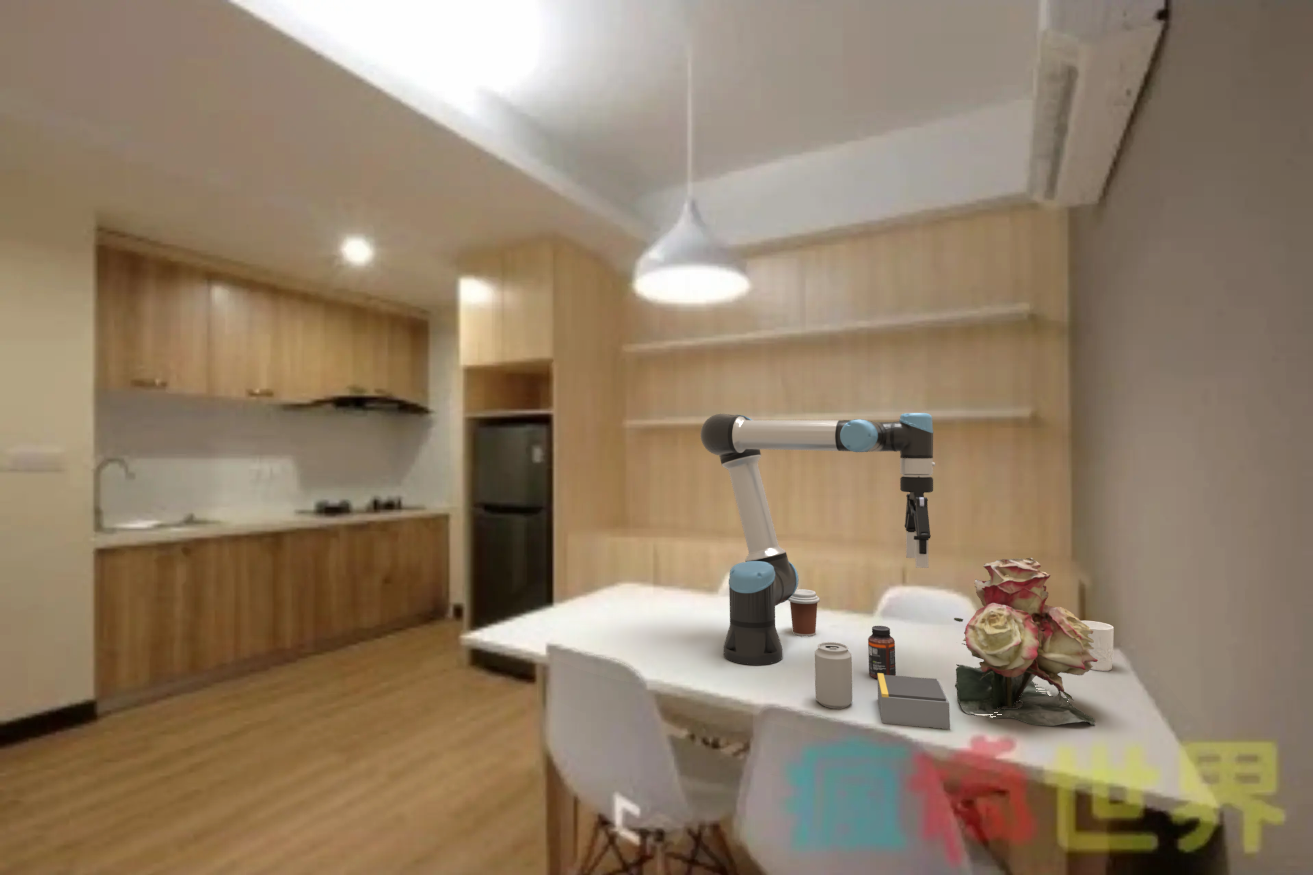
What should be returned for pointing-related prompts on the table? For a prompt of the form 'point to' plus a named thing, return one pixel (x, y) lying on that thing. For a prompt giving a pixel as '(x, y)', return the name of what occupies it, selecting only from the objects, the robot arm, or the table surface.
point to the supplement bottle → (881, 652)
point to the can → (833, 675)
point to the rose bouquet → (1021, 648)
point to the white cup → (1101, 645)
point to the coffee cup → (804, 612)
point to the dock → (912, 701)
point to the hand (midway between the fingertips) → (916, 562)
